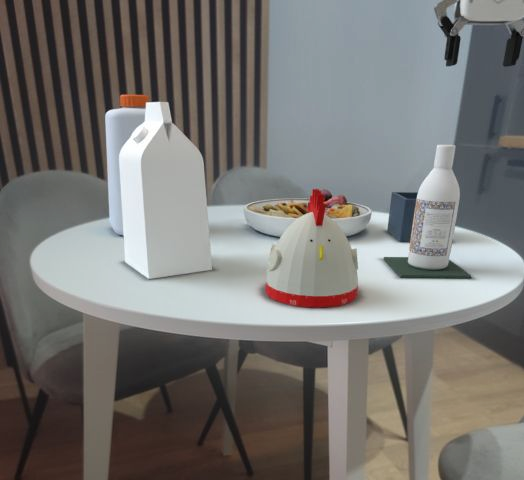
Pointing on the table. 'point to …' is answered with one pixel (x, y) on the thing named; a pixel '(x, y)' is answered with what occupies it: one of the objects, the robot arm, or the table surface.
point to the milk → (163, 199)
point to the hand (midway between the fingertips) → (480, 65)
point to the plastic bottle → (117, 134)
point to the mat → (408, 271)
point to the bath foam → (435, 214)
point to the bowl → (288, 210)
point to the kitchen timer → (313, 262)
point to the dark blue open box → (402, 215)
